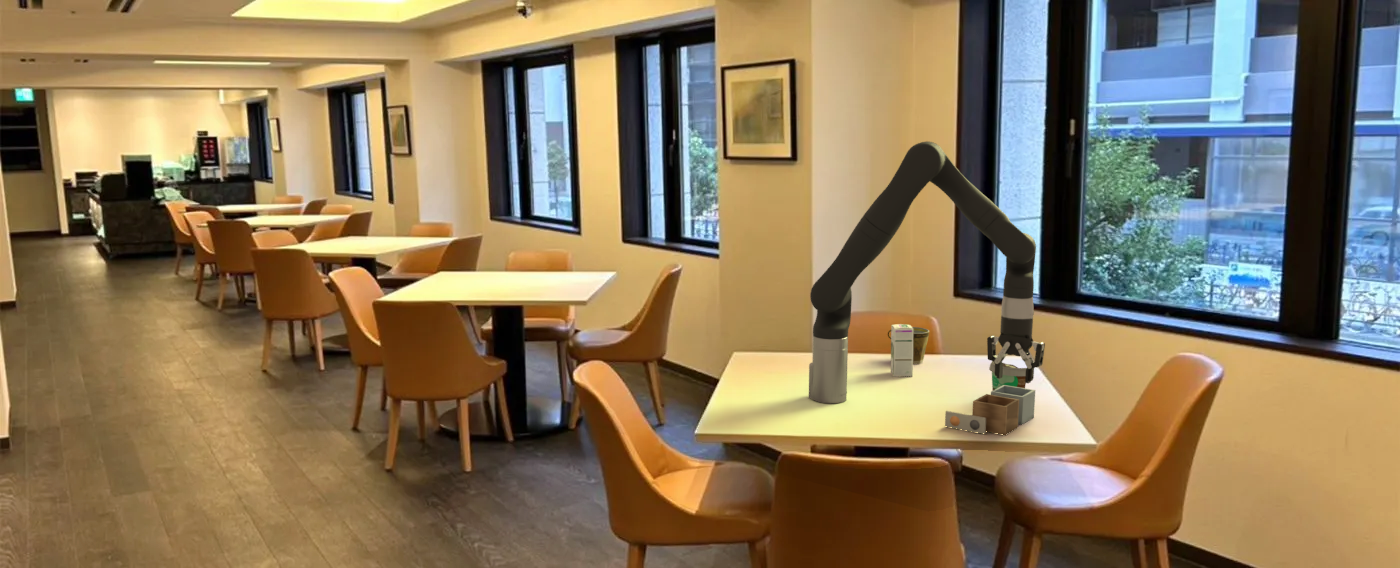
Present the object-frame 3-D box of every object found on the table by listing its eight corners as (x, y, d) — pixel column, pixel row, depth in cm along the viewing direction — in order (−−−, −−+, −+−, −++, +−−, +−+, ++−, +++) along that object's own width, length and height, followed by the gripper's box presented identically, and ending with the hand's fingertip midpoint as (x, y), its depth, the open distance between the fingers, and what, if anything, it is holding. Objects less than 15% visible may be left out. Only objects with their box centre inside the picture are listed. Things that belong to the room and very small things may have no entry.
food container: (978, 395, 274) (979, 359, 272) (997, 393, 276) (999, 357, 274) (1007, 407, 263) (1009, 370, 261) (1026, 405, 265) (1028, 368, 263)
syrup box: (913, 376, 294) (914, 327, 292) (892, 376, 294) (894, 327, 292) (909, 372, 300) (911, 323, 297) (889, 372, 300) (890, 323, 297)
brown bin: (971, 429, 244) (973, 401, 243) (985, 421, 251) (986, 394, 250) (1004, 435, 239) (1006, 407, 238) (1017, 427, 246) (1019, 399, 245)
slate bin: (989, 418, 253) (990, 391, 252) (1002, 411, 259) (1003, 384, 258) (1021, 424, 248) (1023, 397, 247) (1033, 417, 254) (1035, 390, 253)
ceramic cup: (932, 360, 314) (933, 329, 312) (921, 367, 305) (922, 334, 304) (892, 355, 321) (893, 324, 319) (880, 361, 312) (881, 330, 311)
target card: (944, 427, 246) (945, 411, 245) (946, 426, 247) (946, 410, 246) (984, 434, 240) (985, 418, 239) (985, 434, 241) (986, 417, 240)
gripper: (983, 313, 251) (980, 378, 253) (1040, 320, 242) (1037, 388, 245) (994, 309, 257) (991, 373, 259) (1051, 315, 248) (1047, 381, 251)
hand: (1013, 380), depth 252 cm, fingers open, 6 cm apart
